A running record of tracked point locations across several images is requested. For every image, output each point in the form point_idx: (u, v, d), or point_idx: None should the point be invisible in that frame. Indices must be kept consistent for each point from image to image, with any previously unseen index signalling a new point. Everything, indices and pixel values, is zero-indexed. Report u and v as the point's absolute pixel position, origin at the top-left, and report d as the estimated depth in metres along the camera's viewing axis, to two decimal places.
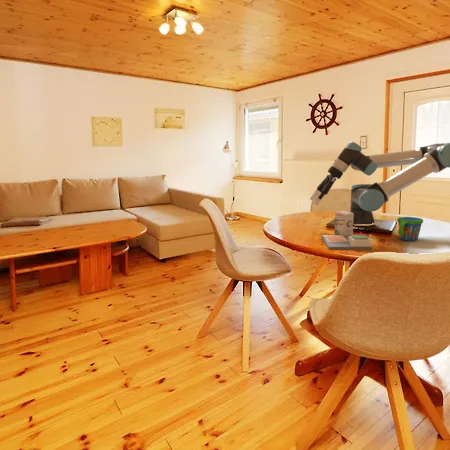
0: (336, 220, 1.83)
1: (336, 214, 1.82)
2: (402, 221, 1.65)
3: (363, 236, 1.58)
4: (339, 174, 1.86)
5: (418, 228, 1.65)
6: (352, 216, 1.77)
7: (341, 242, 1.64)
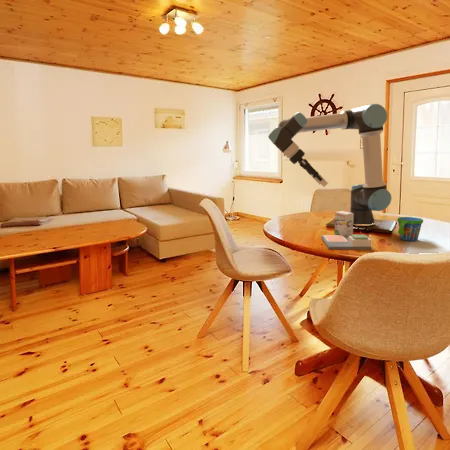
0: (336, 220, 1.83)
1: (336, 214, 1.82)
2: (402, 221, 1.65)
3: (363, 236, 1.58)
4: (300, 153, 1.74)
5: (418, 228, 1.65)
6: (352, 216, 1.77)
7: (341, 242, 1.64)
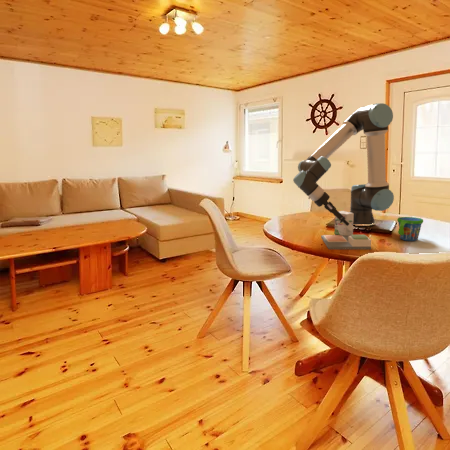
0: (336, 220, 1.83)
1: None
2: (402, 221, 1.65)
3: (363, 236, 1.58)
4: (325, 197, 1.76)
5: (418, 228, 1.65)
6: (352, 216, 1.77)
7: (341, 242, 1.64)
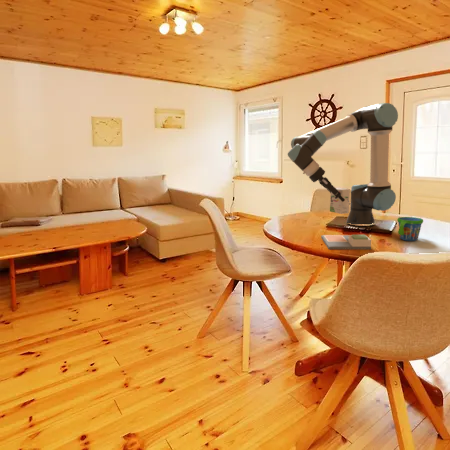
0: (332, 197, 1.76)
1: None
2: (402, 221, 1.65)
3: (363, 236, 1.58)
4: (320, 172, 1.70)
5: (418, 228, 1.65)
6: (348, 192, 1.70)
7: (341, 242, 1.64)
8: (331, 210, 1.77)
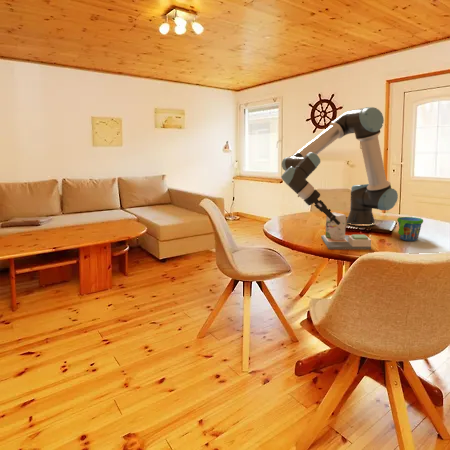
0: (327, 222, 1.71)
1: None
2: (402, 221, 1.65)
3: (363, 236, 1.58)
4: (315, 195, 1.64)
5: (418, 228, 1.65)
6: (344, 218, 1.66)
7: (341, 242, 1.64)
8: (327, 236, 1.72)
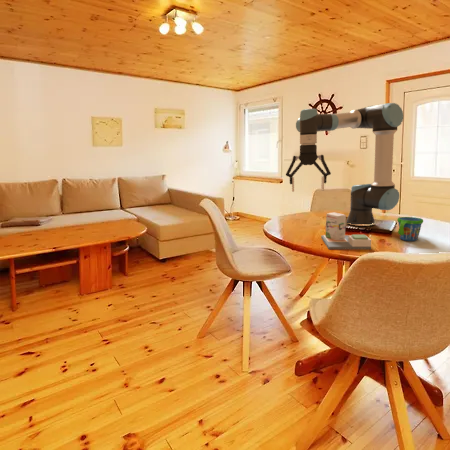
0: (327, 222, 1.71)
1: (327, 215, 1.71)
2: (402, 221, 1.65)
3: (363, 236, 1.58)
4: None
5: (418, 228, 1.65)
6: (344, 218, 1.66)
7: (341, 242, 1.64)
8: (327, 236, 1.72)
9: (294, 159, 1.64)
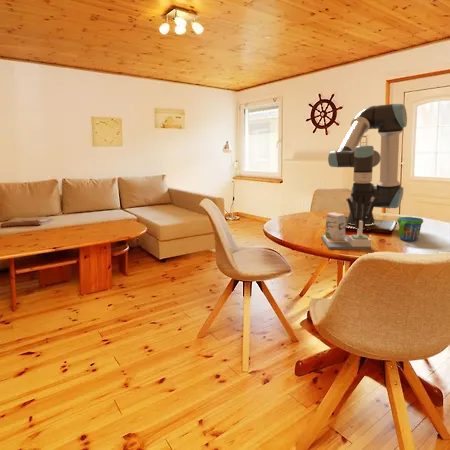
0: (327, 222, 1.71)
1: (327, 215, 1.71)
2: (402, 221, 1.65)
3: (363, 236, 1.58)
4: None
5: (418, 228, 1.65)
6: (344, 218, 1.66)
7: (341, 242, 1.64)
8: (327, 236, 1.72)
9: (350, 202, 1.55)
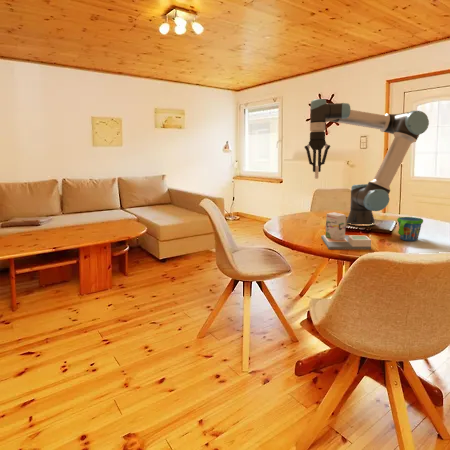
0: (327, 222, 1.71)
1: (327, 215, 1.71)
2: (402, 221, 1.65)
3: (363, 238, 1.58)
4: None
5: (418, 228, 1.65)
6: (344, 218, 1.66)
7: (341, 242, 1.64)
8: (327, 236, 1.72)
9: (307, 148, 1.82)
